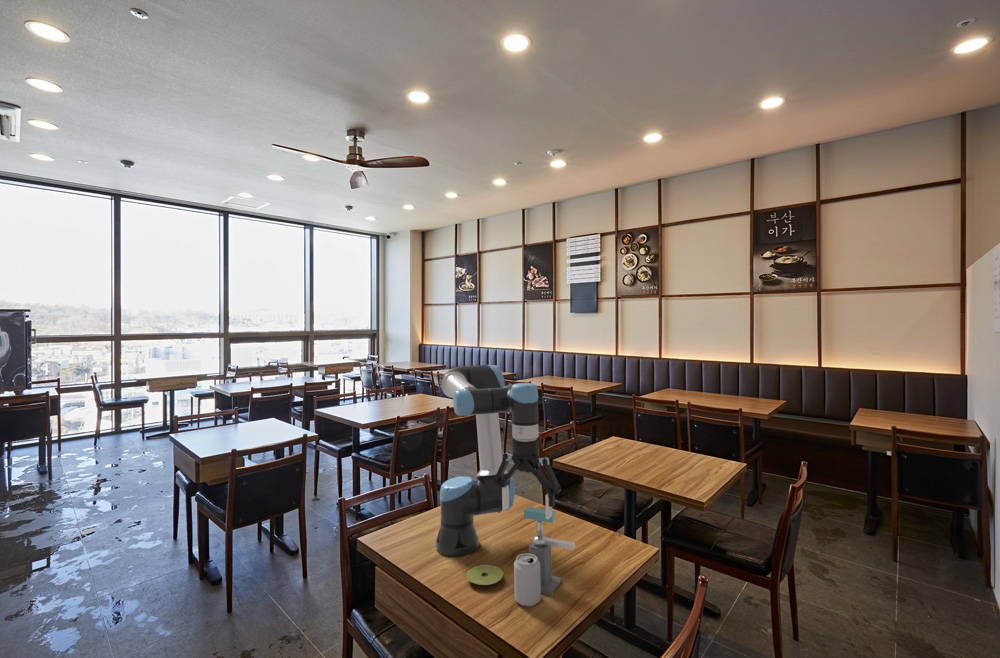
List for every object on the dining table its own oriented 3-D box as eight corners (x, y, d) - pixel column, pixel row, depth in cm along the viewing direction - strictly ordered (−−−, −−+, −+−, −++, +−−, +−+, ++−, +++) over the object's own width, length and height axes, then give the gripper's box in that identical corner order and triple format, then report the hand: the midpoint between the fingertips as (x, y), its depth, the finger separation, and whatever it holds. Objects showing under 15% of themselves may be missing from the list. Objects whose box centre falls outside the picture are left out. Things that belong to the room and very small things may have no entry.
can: (539, 609, 123) (538, 566, 123) (512, 606, 125) (511, 563, 125) (542, 593, 130) (541, 552, 130) (516, 591, 132) (516, 550, 132)
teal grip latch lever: (572, 553, 129) (571, 518, 129) (523, 543, 135) (523, 510, 135) (575, 546, 133) (575, 513, 133) (528, 537, 139) (527, 505, 139)
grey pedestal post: (519, 586, 134) (519, 546, 134) (531, 573, 141) (530, 535, 141) (550, 595, 129) (550, 554, 129) (561, 581, 136) (560, 542, 136)
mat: (508, 587, 134) (507, 580, 134) (471, 593, 131) (471, 587, 131) (497, 568, 145) (497, 561, 145) (463, 573, 142) (463, 567, 142)
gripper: (481, 436, 130) (482, 509, 130) (561, 446, 118) (563, 526, 118) (493, 431, 137) (495, 501, 137) (571, 439, 125) (573, 516, 125)
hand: (526, 513), depth 128 cm, fingers open, 13 cm apart
